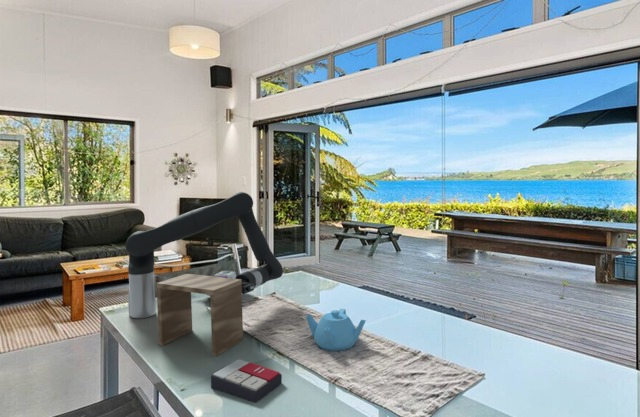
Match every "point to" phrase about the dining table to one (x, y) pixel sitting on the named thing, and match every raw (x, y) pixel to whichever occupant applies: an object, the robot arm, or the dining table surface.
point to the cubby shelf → (179, 310)
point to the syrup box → (226, 274)
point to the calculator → (246, 380)
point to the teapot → (335, 330)
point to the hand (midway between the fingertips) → (221, 291)
